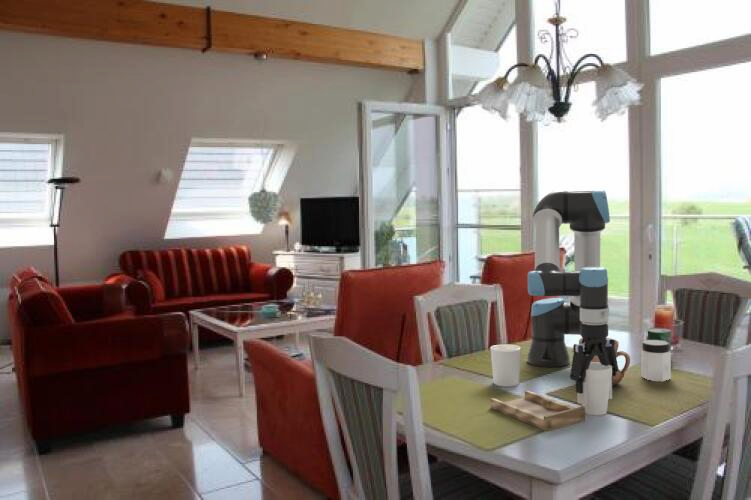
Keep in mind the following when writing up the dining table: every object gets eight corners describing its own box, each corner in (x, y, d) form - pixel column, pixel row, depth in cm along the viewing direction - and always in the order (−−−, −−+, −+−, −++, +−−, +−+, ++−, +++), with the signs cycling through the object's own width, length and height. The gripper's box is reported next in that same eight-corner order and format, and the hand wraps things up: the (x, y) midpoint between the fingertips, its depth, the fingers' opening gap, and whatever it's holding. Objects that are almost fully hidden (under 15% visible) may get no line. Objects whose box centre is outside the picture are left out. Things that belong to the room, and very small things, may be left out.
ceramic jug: (568, 387, 206) (568, 344, 205) (573, 375, 219) (573, 334, 218) (628, 393, 199) (629, 348, 197) (630, 380, 212) (630, 337, 211)
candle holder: (523, 379, 216) (522, 344, 215) (519, 388, 207) (518, 351, 206) (493, 378, 220) (492, 343, 219) (489, 386, 210) (488, 350, 209)
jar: (659, 383, 207) (659, 346, 206) (636, 378, 214) (636, 342, 213) (675, 378, 212) (675, 342, 211) (652, 373, 218) (652, 338, 217)
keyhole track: (490, 407, 189) (490, 395, 189) (527, 399, 196) (527, 387, 195) (546, 431, 169) (546, 417, 168) (585, 420, 175) (585, 407, 175)
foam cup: (572, 407, 187) (571, 363, 186) (603, 405, 188) (602, 361, 187) (586, 417, 178) (585, 371, 177) (618, 415, 178) (618, 369, 177)
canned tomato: (645, 360, 235) (645, 331, 234) (649, 356, 241) (649, 327, 240) (669, 363, 230) (669, 332, 229) (672, 358, 237) (672, 328, 236)
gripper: (575, 329, 172) (576, 411, 174) (632, 319, 183) (632, 397, 184) (555, 325, 179) (556, 404, 180) (610, 316, 189) (611, 390, 191)
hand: (594, 400), depth 182 cm, fingers closed on foam cup, 9 cm apart
